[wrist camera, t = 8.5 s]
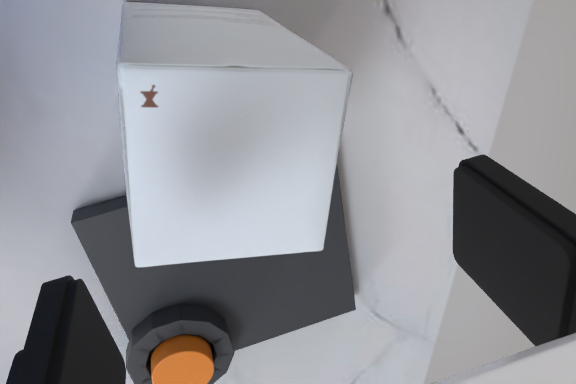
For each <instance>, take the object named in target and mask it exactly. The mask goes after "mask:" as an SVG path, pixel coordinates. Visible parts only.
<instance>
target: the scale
mask: <svg viewBox="0 0 576 384" xmlns="http://www.w3.org/2000/svg"><path fill="white" fill-rule="evenodd" d="M71 224H72V226H73V228H74V230H75V232H76V234H77V236H78V238H79V240H80V242H81V244H82V246H83V248H84V250H85V252H86V254H87V256H88V258H89V260H90V262H91V264H92V266H93V268H94V270H95V272H96V274H97V276H98V278H99V280H100V282H101V284H102V286H103V288H104V290H105V292H106V294H107V296H108V298H109V300H110V302H111V305H112V307H113V309H114V311H115V313H116V315H117V317H118V319H119V321H120V323H121V325H122V327H123V329H124V331H125V333H126V335H127V337H128V339H129V343H128V346H127V350H126V369H127V371H128V373H129V375H130V377H131V379H132V380H133V382H134V384H153V383H152V378H151V356H152V354H153V352H154V350H155V349H156V347H157V346H158V345H159V344H161V343H162V342H163V341H165V340H167V339H169V338H171V337H174V336H177V335H195V336H198V337H201V338H202V339H204V340H205V341H206V342H207V343H208V344H209V346H210V348H211V352H212V358H213V363H214V373H213V376H212V378H211V379H210V381H209V382H208V383H207V384H213V383H214V382H216V381H217V380H218V379H219V378H220V377H221V376H223V375H224V374H225V373H226V372H227V370H228V368H229V365H230V363H231V360H232V357H233V355H234V351H235V350H238V349H241V348H244V347H247V346H250V345H253V344H256V343H259V342H262V341H265V340H268V339H271V338H274V337H277V336H279V335H282V334H285V333H288V332H291V331H294V330H297V329H300V328H303V327H306V326H309V325H312V324H315V323H318V322H321V321H323V320H326V319H329V318H332V317H335V316H338V315H341V314H344V313H347V312H350V311H353V310H355V309H356V308H355V300H354V292H353V285H352V277H351V269H350V261H349V254H348V246H347V238H346V231H345V223H344V215H343V207H342V200H341V192H340V184H339V177H338V169H337V164H336V170H335V175H334V181H333V188H332V195H331V201H330V208H329V215H328V221H327V228H326V234H325V241H324V248H323V250H322V251H314V252H302V253H291V254H279V255H268V256H257V257H246V258H235V259H224V260H212V261H201V262H191V263H180V264H169V265H160V266H150V267H136V266H135V263H134V255H133V246H132V238H131V229H130V220H129V212H128V204H127V196H124V197H120V198H117V199H113V200H109V201H106V202H102V203H99V204H95V205H92V206H88V207H84V208H81V209H77V210H74V211H73V216H72V220H71Z"/></svg>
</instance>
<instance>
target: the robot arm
mask: <svg viewBox="0 0 576 384" xmlns="http://www.w3.org/2000/svg"><path fill="white" fill-rule="evenodd" d="M453 254H454V258H455V260H456V262H457V263H458V264H459V266H460V267H461V268H462V269H463V270H464V271H465V272H466V273H467V274H468V275H469V276H470V277H471V278H472V279H473V280H474V281H475V282H476V284H477V285H478V286H479V287H480V288H481V289H482V290H483V291H484V292H485V293H486V294H487V295H488V296H489V297H490V298H491V299H492V301H493V302H495V303H496V305H497V306H498V307H499V308H500V309H501V310H502V311H503V312H504V313H505V314H506V315H507V316H508V318H510V320H511V321H512V322H513V323H514V324H515V325H516V326H517V327H518V328H519V329H520V330H521V331H522V332H523V333H524V334H525V335H526V336H527V338H528V339H529V340H530V341H531V342H532V343H533V344H534V345H535V346H536V347H533V348H531V349H527V350H524V351H522V352H519V353H516V354H513V355H510V356H507V357H505V358H502V359H499V360H496V361H493V362H491V363H488V364H485V365H482V366H479V367H477V368H474V369H471V370H468V371H465V372H462V373H460V374H457V375H454V376H451V377H448V378H446V379H443V380H440V381H437V382H434V383H431V384H576V214H574V213H573V212H571V211H570V210H568V209H567V208H565V207H564V206H562V205H561V204H559V203H558V202H556V201H555V200H553V199H552V198H550V197H549V196H547V195H546V194H544V193H543V192H541V191H539V190H538V189H536V188H535V187H533V186H532V185H530V184H529V183H527V182H526V181H524V180H522V179H521V178H520V177H518V176H517V175H515V174H514V173H512V172H511V171H509V170H507V169H506V168H504V167H503V166H501V165H500V164H498V163H497V162H495V161H494V160H492V159H491V158H489V157H488V156H486V155H479V156H475V157H472V158H469V159H465V160H462V161H461V162H460V163H459V167H458V168H456V169H455V170H454V189H453ZM125 380H126V369H125V363H124V360H123V357H122V355H121V353H120V351H119V349H118V347H117V345H116V343H115V341H114V339H113V337H112V336H111V334H110V332H109V330H108V328H107V326H106V324H105V322H104V320H103V318H102V316H101V314H100V312H99V310H98V308H97V306H96V304H95V303H94V301H93V299H92V297H91V295H90V293H89V291H88V289H87V287H86V285H85V283H84V282H83V280H82V279H78V280H74V279H73V277H71V276H65V277H62V278H59V279H55V280H52V281H48V282H45V283H43V284H42V286H41V290H40V293H39V297H38V300H37V304H36V307H35V311H34V314H33V318H32V321H31V325H30V328H29V332H28V336H27V339H26V343H25V346H24V350H21V351H19V352H18V353H17V354H16V355H15V357H14V359H13V362H12V366H11V369H10V372H9V376H8V379H7V382H6V384H125Z"/></svg>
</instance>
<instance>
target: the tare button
mask: <svg viewBox="0 0 576 384" xmlns="http://www.w3.org/2000/svg"><path fill="white" fill-rule="evenodd" d="M213 373H214V363H213V358H212V352H211V348H210V346H209V344H208V343H207V342H206V341H205V340H204V339H202V338H201V337H198V336H195V335H177V336H174V337H171V338H169V339H167V340H165V341H163V342H162V343H161V344H159V345H158V346H157V347H156V349H155V350H154V352H153V354H152V356H151V378H152V383H153V384H207V383H208V382H209V381H210V379H211V378H212V376H213Z"/></svg>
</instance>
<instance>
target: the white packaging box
mask: <svg viewBox="0 0 576 384" xmlns="http://www.w3.org/2000/svg"><path fill="white" fill-rule="evenodd" d="M352 76H353V73H352V70H351V69H349V68H347V67H346V66H344V65H343V64H341V63H340V62H339V61H337V60H336V59H334V58H333V57H331V56H329V55H328V54H326V53H325V52H323V51H322V50H320V49H319V48H317V47H315V46H314V45H312V44H311V43H309V42H308V41H306V40H304V39H303V38H301V37H299V36H298V35H296V34H295V33H293V32H292V31H290V30H288V29H287V28H285V27H284V26H282V25H281V24H279V23H277V22H276V21H274V20H273V19H272V18H270V17H269V16H267V15H265V14H264V13H262V12H261V11H259V10H250V9H239V8H226V7H210V6H193V5H175V4H157V3H138V2H124V3H123V6H122V17H121V26H120V36H119V46H118V56H117V81H118V98H119V115H120V129H121V142H122V154H123V164H124V174H125V184H126V195H127V204H128V212H129V220H130V229H131V238H132V246H133V255H134V263H135V266H136V267H150V266H160V265H169V264H180V263H191V262H201V261H212V260H224V259H235V258H246V257H257V256H268V255H279V254H291V253H302V252H314V251H322V250H323V248H324V241H325V234H326V228H327V221H328V215H329V208H330V201H331V195H332V188H333V181H334V175H335V170H336V164H337V159H338V153H339V148H340V142H341V137H342V131H343V126H344V120H345V115H346V109H347V103H348V97H349V92H350V87H351V81H352Z"/></svg>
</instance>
